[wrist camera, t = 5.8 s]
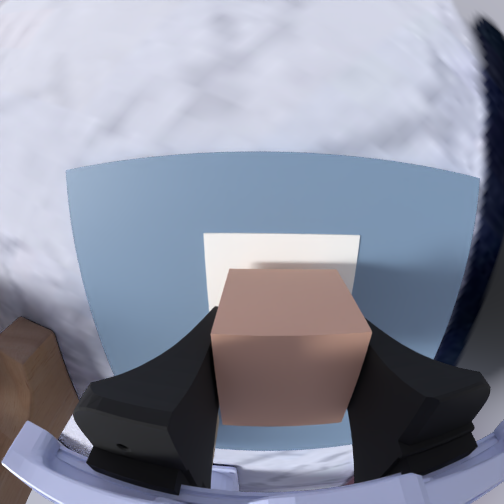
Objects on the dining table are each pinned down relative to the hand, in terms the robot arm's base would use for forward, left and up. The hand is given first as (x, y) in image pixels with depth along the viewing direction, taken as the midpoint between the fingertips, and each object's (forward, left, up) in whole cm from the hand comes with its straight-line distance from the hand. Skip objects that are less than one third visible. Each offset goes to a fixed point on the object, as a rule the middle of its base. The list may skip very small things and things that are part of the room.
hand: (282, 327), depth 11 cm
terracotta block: (0, 0, -1) cm, 1 cm away
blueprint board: (-4, 0, -3) cm, 5 cm away
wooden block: (-8, +19, -3) cm, 21 cm away
